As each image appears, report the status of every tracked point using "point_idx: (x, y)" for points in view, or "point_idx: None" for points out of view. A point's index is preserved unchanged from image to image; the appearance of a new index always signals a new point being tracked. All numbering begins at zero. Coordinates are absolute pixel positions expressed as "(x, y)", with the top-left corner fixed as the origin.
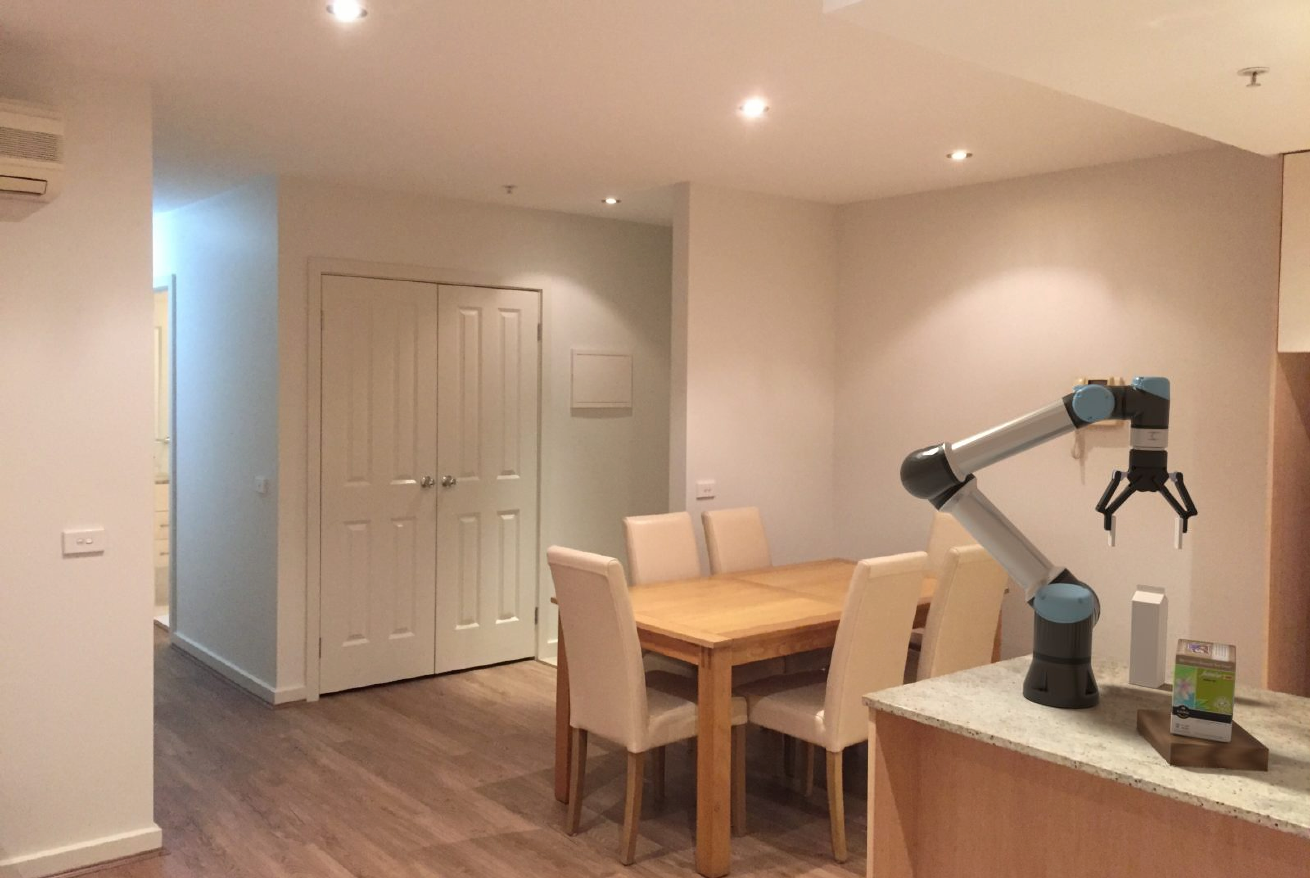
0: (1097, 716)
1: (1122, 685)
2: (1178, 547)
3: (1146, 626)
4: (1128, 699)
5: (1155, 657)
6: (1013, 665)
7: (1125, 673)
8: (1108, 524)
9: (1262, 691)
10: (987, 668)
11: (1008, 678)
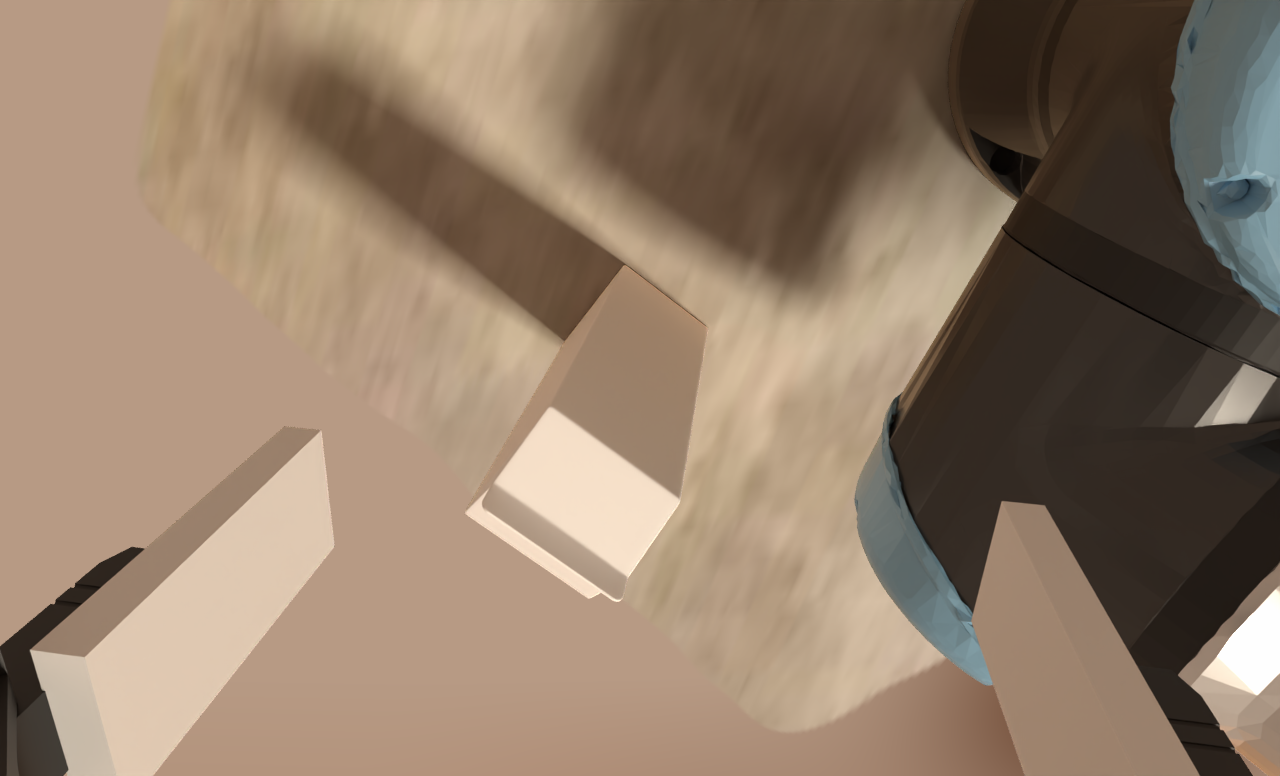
0: None
1: (743, 298)
2: (309, 440)
3: (628, 387)
4: (801, 86)
5: (611, 306)
6: None
7: None
8: (1182, 736)
9: (239, 277)
10: None
11: None
